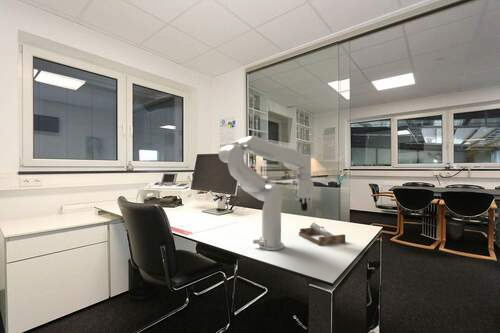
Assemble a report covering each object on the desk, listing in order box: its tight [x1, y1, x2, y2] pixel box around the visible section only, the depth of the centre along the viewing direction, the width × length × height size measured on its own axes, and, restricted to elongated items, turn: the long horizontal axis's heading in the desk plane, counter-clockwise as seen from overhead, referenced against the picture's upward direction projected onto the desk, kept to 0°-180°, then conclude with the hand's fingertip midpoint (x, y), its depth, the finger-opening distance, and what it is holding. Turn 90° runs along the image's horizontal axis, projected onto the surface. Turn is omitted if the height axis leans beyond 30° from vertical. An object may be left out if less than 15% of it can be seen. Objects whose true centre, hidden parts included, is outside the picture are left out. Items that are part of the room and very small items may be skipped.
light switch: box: [309, 222, 334, 237], centre depth 130 cm, size 8×6×14 cm
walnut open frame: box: [298, 226, 346, 246], centre depth 130 cm, size 17×19×4 cm
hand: (304, 210), depth 126 cm, fingers closed
